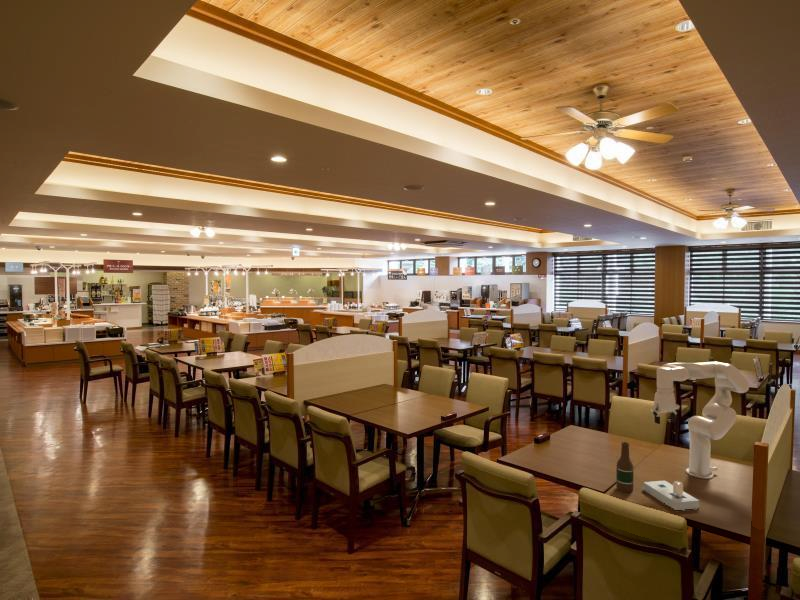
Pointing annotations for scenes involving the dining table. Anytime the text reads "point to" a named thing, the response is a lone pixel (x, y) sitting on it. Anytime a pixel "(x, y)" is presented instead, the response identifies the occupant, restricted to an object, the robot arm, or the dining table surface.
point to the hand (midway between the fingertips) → (665, 422)
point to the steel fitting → (677, 489)
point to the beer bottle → (624, 470)
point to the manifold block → (670, 495)
